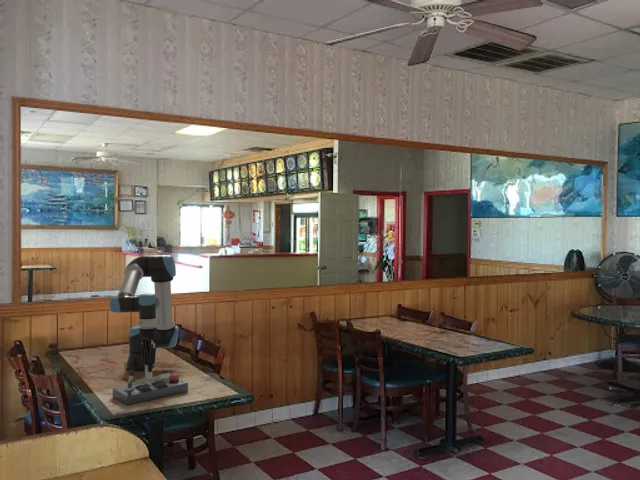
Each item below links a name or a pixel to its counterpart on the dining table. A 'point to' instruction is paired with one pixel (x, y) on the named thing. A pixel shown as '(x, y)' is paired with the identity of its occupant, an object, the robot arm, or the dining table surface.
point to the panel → (149, 390)
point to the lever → (130, 378)
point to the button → (174, 377)
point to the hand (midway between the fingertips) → (148, 378)
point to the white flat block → (144, 380)
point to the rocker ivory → (161, 376)
